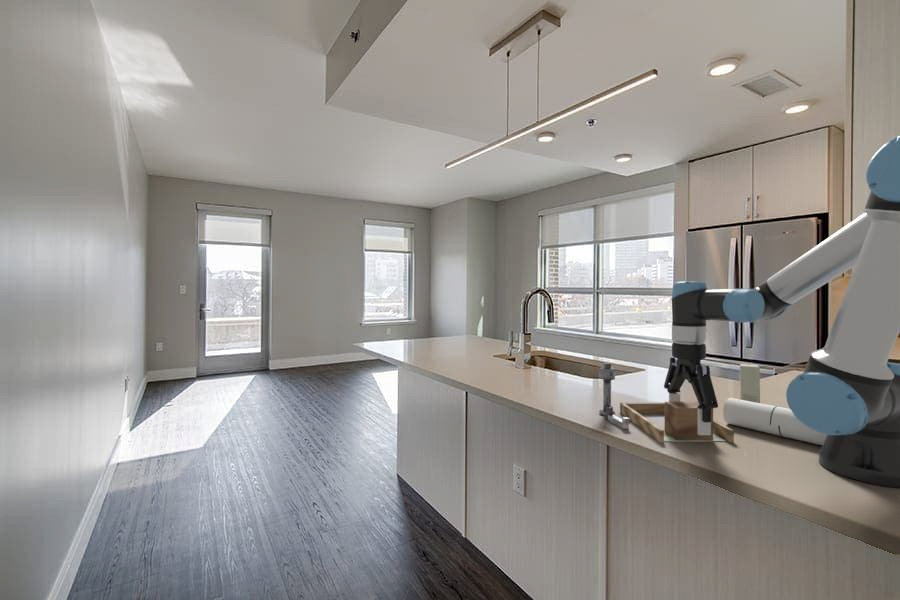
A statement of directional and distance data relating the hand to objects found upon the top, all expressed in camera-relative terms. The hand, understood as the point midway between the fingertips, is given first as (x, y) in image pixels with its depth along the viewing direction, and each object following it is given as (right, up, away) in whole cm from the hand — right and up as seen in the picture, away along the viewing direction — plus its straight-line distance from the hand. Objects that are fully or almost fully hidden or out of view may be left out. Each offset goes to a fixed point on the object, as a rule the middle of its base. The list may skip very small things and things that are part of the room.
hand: (688, 425), depth 108 cm
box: (+35, -2, +28) cm, 45 cm away
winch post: (-13, -2, +20) cm, 24 cm away
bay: (0, -3, +9) cm, 9 cm away
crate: (0, -3, 0) cm, 3 cm away
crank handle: (-14, -3, +11) cm, 18 cm away
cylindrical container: (+17, +1, +10) cm, 20 cm away
